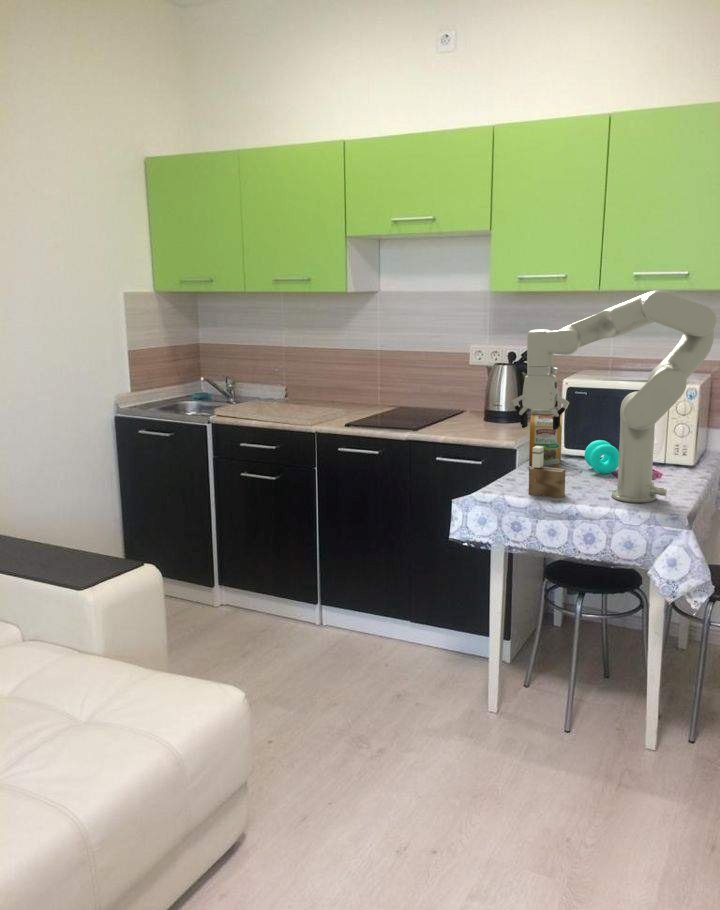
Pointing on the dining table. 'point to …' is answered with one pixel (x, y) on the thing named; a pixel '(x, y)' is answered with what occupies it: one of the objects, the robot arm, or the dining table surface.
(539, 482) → the brown wooden block
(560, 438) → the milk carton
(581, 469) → the dining table surface
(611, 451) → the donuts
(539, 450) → the white lidded box
